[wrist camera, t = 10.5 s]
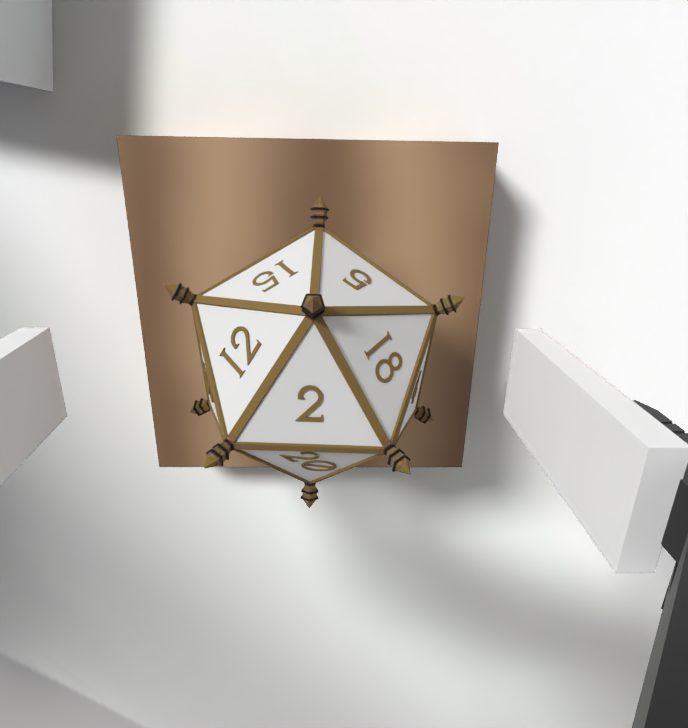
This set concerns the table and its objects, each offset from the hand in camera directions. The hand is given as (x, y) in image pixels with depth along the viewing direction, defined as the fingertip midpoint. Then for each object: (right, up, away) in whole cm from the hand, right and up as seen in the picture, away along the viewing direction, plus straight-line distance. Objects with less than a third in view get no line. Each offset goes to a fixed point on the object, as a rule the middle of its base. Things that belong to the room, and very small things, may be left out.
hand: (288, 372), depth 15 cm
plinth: (0, +3, +8) cm, 9 cm away
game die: (+1, +2, +5) cm, 6 cm away
